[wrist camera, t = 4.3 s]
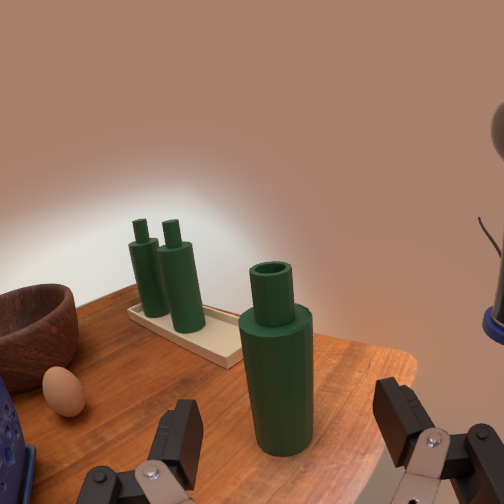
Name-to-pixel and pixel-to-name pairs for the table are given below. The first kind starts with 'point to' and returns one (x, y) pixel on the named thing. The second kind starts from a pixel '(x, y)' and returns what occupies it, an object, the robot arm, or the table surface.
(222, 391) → the table surface
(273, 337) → the bottle
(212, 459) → the table surface
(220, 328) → the tray
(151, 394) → the table surface
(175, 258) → the row bottle
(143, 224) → the row bottle
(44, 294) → the wooden bowl
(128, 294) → the table surface
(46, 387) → the egg
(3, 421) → the flower pot
